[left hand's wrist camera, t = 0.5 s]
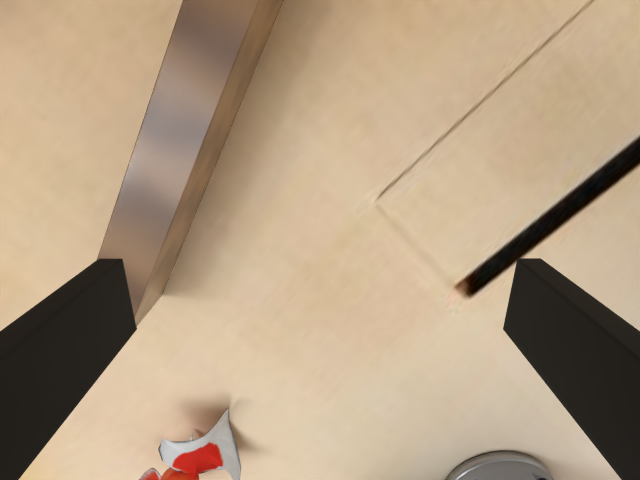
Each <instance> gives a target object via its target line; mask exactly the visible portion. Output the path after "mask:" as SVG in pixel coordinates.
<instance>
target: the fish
mask: <svg viewBox="0 0 640 480" xmlns="http://www.w3.org/2000/svg"><path fill="white" fill-rule="evenodd" d="M158 450H159V453H160V455H161V458H162V461H163V462H164V463H165V464H166V465H168V466H169V467H171V468H169V469H168V470H166V472H165V473H164V474H163V475H162V477H161V476H160V474H159V473H158V472H157V471H156V470H155V469H154V468H151V469H149V470H148V471H147V472H145V473H144V474H143V475H142V477H141V478H140V479H139V480H199V475H198V474H201V473H204V472H207V471H210V470H214V469H217V470H226V471H227V472H228V473H229V474H230V475H231V477H232V478H233V480H240V474H241V465H240V459H239V454H238V449H237V445H236V442H235V439H234V436H233V433H232V430H231V426H230V423H229V408H228V409H227V410H226V411H225V412H224V414H223V415H222V417H221V418H220V419H219V421H218V422H217V424H216V425H215V426H214V427H213V428H212V429H211V430H210V431H209V432H208V433H207V434H206V435H205V436H204V437H202V438H199V439H196V440H193V431H192V435H191V439H190V441H184V442H176V441H168V440H166V439H162V442H161V444H160V447H159V449H158Z"/></svg>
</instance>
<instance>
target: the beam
mask: <svg viewBox="0 0 640 480" xmlns="http://www.w3.org/2000/svg"><path fill="white" fill-rule="evenodd" d="M282 2H283V0H183V2H182V5H181V8H180V11H179V14H178V17H177V20H176V23H175V26H174V29H173V32H172V35H171V38H170V41H169V44H168V47H167V50H166V53H165V56H164V59H163V62H162V65H161V68H160V71H159V74H158V77H157V80H156V83H155V86H154V89H153V92H152V95H151V98H150V101H149V104H148V107H147V110H146V114H145V117H144V120H143V123H142V126H141V129H140V132H139V135H138V138H137V141H136V144H135V147H134V150H133V153H132V156H131V159H130V162H129V165H128V168H127V171H126V174H125V177H124V180H123V183H122V186H121V189H120V192H119V195H118V198H117V201H116V204H115V207H114V210H113V213H112V216H111V219H110V222H109V225H108V228H107V231H106V234H105V237H104V240H103V243H102V246H101V249H100V252H99V255H98V258H97V260H98V259H123V264H124V268H125V273H126V278H127V283H128V288H129V293H130V298H131V303H132V308H133V313H134V318H135V322H136V327H137V325H138V324H139V323H140V322H141V320H142V319H143V318H144V317H145V316H146V314H147V313H148V312H149V311H150V309H151V308H152V307H153V306H154V304H155V303H156V302H157V301H158V299H159V298H160V297H161V296H162V293H163V291H164V288H165V286H166V284H167V281H168V279H169V276H170V274H171V271H172V269H173V267H174V264H175V262H176V259H177V257H178V254H179V252H180V250H181V247H182V245H183V242H184V240H185V238H186V235H187V233H188V230H189V228H190V225H191V223H192V221H193V218H194V216H195V213H196V211H197V208H198V206H199V204H200V201H201V199H202V196H203V194H204V191H205V189H206V187H207V184H208V182H209V179H210V177H211V174H212V172H213V170H214V167H215V165H216V162H217V160H218V158H219V155H220V153H221V150H222V148H223V145H224V143H225V141H226V138H227V136H228V133H229V131H230V128H231V126H232V124H233V121H234V119H235V116H236V114H237V111H238V109H239V107H240V104H241V102H242V99H243V97H244V94H245V92H246V90H247V87H248V85H249V82H250V80H251V78H252V75H253V73H254V70H255V68H256V65H257V63H258V61H259V58H260V56H261V53H262V51H263V48H264V46H265V44H266V41H267V39H268V36H269V34H270V31H271V29H272V27H273V24H274V22H275V19H276V17H277V14H278V12H279V10H280V7H281V5H282Z"/></svg>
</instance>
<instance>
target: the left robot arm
mask: <svg viewBox="0 0 640 480" xmlns="http://www.w3.org/2000/svg"><path fill="white" fill-rule="evenodd" d="M136 330H137V327H136V322H135V318H134V313H133V308H132V303H131V298H130V293H129V288H128V283H127V278H126V273H125V268H124V264H123V259H98V260H97V261H95V262H94V263H93V264H91V265H90V266H89V267H87V268H86V269H85V270H83V271H82V272H80V273H79V274H78V275H76V276H75V277H74V278H72V279H71V280H70V281H68V282H67V283H65V284H64V285H63V286H61V287H60V288H59V289H57V290H56V291H55V292H53V293H52V294H51V295H49V296H48V297H46V298H45V299H44V300H42V301H41V302H40V303H38V304H37V305H36V306H34V307H33V308H31V309H30V310H29V311H27V312H26V313H25V314H23V315H22V316H21V317H19V318H18V319H17V320H15V321H14V322H12V323H11V324H10V325H8V326H7V327H6V328H4V329H3V330H2V331H0V480H18V479H19V478H20V477H21V476H22V474H23V473H24V472H25V471H26V469H27V468H28V467H29V465H30V464H31V463H32V462H33V460H34V459H35V458H36V457H37V455H38V454H39V453H40V452H41V450H42V449H43V448H44V446H45V445H46V444H47V443H48V441H49V440H50V439H51V438H52V436H53V435H54V434H55V432H56V431H57V430H58V429H59V427H60V426H61V425H62V424H63V422H64V421H65V420H66V418H67V417H68V416H69V415H70V413H71V412H72V411H73V410H74V408H75V407H76V406H77V404H78V403H79V402H80V401H81V399H82V398H83V397H84V396H85V394H86V393H87V392H88V391H89V389H90V388H91V387H92V385H93V384H94V383H95V382H96V380H97V379H98V378H99V377H100V375H101V374H102V373H103V371H104V370H105V369H106V368H107V366H108V365H109V364H110V363H111V361H112V360H113V359H114V357H115V356H116V355H117V354H118V352H119V351H120V350H121V349H122V347H123V346H124V345H125V344H126V342H127V341H128V340H129V338H130V337H131V336H132V335H133V333H134V332H135V331H136ZM503 330H504V331H505V332H506V333H507V335H508V336H509V337H510V338H511V340H512V341H513V342H514V344H515V345H516V346H517V347H518V349H519V350H520V351H521V352H522V354H523V355H524V356H525V357H526V359H527V360H528V361H529V363H530V364H531V365H532V366H533V368H534V369H535V370H536V371H537V373H538V374H539V375H540V377H541V378H542V379H543V380H544V382H545V383H546V384H547V385H548V387H549V388H550V389H551V391H552V392H553V393H554V394H555V396H556V397H557V398H558V399H559V401H560V402H561V403H562V404H563V406H564V407H565V408H566V410H567V411H568V412H569V413H570V415H571V416H572V417H573V418H574V420H575V421H576V422H577V424H578V425H579V426H580V427H581V429H582V430H583V431H584V432H585V434H586V435H587V436H588V438H589V439H590V440H591V441H592V443H593V444H594V445H595V446H596V448H597V449H598V450H599V452H600V453H601V454H602V455H603V457H604V458H605V459H606V460H607V462H608V463H609V464H610V465H611V467H612V468H613V469H614V471H615V472H616V473H617V474H618V476H619V477H620V478H621V479H622V480H640V331H638V330H637V329H636V328H634V327H633V326H632V325H630V324H629V323H628V322H626V321H625V320H623V319H622V318H621V317H619V316H618V315H617V314H615V313H614V312H613V311H611V310H610V309H609V308H607V307H606V306H604V305H603V304H602V303H600V302H599V301H598V300H596V299H595V298H594V297H592V296H591V295H589V294H588V293H587V292H585V291H584V290H583V289H581V288H580V287H579V286H577V285H576V284H575V283H573V282H572V281H570V280H569V279H568V278H566V277H565V276H564V275H562V274H561V273H560V272H558V271H557V270H555V269H554V268H553V267H551V266H550V265H549V264H547V263H546V262H545V261H543V260H542V259H517V264H516V268H515V273H514V278H513V283H512V288H511V293H510V298H509V303H508V308H507V313H506V318H505V322H504V327H503ZM446 480H553V478H552V476H551V475H550V473H549V471H548V470H547V468H546V467H545V466H544V465H543V464H542V463H541V462H539V461H538V460H536V459H535V458H533V457H531V456H528V455H525V454H521V453H516V452H493V453H488V454H484V455H480V456H477V457H475V458H472V459H470V460H468V461H466V462H464V463H463V464H461V465H460V466H458V467H457V468H456V469H455V470H454V471H452V472H451V474H450V475H449V476H448V477H447V479H446Z"/></svg>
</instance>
